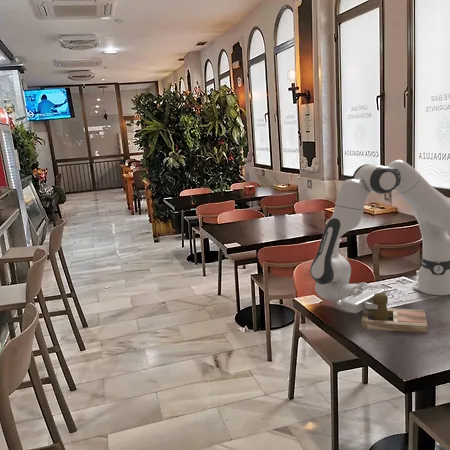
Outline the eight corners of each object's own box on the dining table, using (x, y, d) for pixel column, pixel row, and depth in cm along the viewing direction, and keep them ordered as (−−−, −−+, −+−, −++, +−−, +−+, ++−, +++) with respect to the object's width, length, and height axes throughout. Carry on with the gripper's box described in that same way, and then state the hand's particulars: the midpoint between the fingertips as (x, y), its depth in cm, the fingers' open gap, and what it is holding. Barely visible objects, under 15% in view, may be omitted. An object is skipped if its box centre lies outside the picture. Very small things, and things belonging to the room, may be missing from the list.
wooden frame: (363, 312, 178) (363, 306, 177) (424, 316, 171) (424, 309, 170) (361, 328, 165) (361, 321, 165) (427, 332, 158) (427, 325, 157)
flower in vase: (353, 265, 234) (352, 218, 228) (337, 270, 228) (335, 222, 223) (334, 260, 245) (333, 215, 239) (319, 265, 239) (317, 219, 234)
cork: (385, 317, 172) (385, 290, 170) (391, 324, 167) (391, 296, 164) (369, 318, 172) (369, 291, 170) (375, 325, 166) (375, 297, 164)
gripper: (334, 296, 171) (365, 305, 160) (366, 281, 183) (397, 288, 173) (334, 311, 173) (365, 321, 162) (366, 295, 185) (397, 304, 174)
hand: (382, 304), depth 167 cm, fingers closed on cork, 4 cm apart
